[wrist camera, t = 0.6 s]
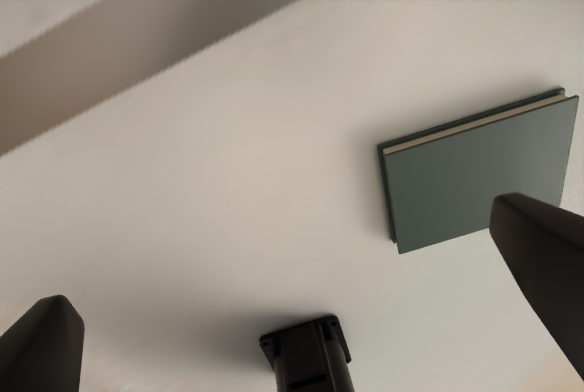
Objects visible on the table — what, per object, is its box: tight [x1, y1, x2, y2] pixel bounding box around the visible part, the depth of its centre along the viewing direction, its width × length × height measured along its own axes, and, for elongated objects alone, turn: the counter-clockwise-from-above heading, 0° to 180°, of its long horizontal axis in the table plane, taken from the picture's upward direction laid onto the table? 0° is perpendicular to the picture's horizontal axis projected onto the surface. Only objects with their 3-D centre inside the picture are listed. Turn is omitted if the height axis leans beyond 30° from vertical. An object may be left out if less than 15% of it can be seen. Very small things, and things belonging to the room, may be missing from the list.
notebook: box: [378, 88, 579, 254], centre depth 25 cm, size 8×11×1 cm
